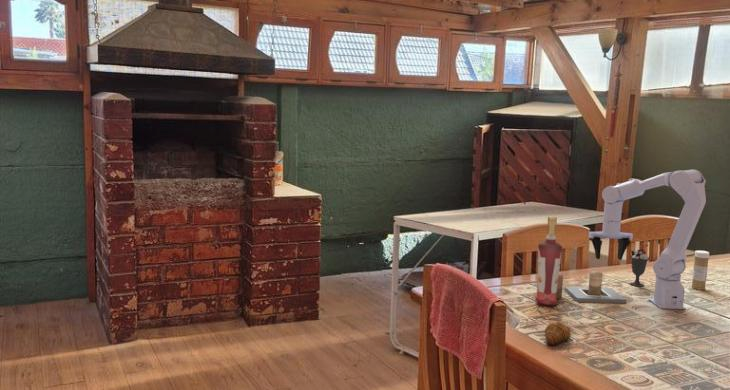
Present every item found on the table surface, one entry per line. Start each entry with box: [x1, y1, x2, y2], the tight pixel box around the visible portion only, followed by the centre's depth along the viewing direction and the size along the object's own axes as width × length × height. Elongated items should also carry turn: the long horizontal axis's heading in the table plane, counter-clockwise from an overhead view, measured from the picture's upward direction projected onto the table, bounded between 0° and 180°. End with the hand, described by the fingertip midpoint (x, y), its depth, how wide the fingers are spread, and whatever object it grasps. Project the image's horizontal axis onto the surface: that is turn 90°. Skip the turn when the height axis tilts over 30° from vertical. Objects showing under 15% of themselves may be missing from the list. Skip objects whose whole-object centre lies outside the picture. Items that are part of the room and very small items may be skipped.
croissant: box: [544, 321, 572, 346], centre depth 172 cm, size 14×7×5 cm, turn 146°
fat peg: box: [556, 273, 564, 299], centre depth 213 cm, size 7×7×7 cm
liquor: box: [534, 216, 563, 307], centre depth 202 cm, size 7×7×28 cm
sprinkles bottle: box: [691, 249, 710, 291], centre depth 227 cm, size 5×5×13 cm
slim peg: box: [587, 271, 603, 296], centre depth 213 cm, size 4×4×8 cm
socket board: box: [564, 286, 627, 304], centre depth 213 cm, size 13×16×1 cm
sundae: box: [629, 244, 651, 288], centre depth 228 cm, size 7×7×15 cm
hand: (608, 258), depth 223 cm, fingers open, 7 cm apart
